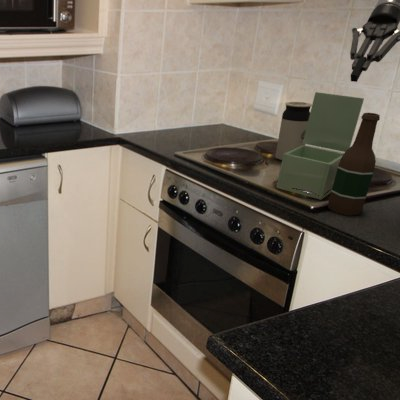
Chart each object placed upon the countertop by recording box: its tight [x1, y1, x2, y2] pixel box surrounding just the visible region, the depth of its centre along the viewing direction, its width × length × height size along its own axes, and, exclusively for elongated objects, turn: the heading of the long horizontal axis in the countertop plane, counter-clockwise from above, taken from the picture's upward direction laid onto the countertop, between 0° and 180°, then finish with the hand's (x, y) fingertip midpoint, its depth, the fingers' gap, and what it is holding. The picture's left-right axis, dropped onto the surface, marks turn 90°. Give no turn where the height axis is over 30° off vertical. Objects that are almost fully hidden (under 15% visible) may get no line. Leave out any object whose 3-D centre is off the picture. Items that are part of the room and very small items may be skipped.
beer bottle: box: [327, 112, 381, 217], centre depth 114 cm, size 8×8×24 cm
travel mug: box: [275, 101, 313, 161], centre depth 153 cm, size 8×8×18 cm
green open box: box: [275, 144, 345, 201], centre depth 130 cm, size 14×12×10 cm
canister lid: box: [303, 91, 365, 153], centre depth 130 cm, size 14×12×1 cm
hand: (353, 78), depth 132 cm, fingers closed
